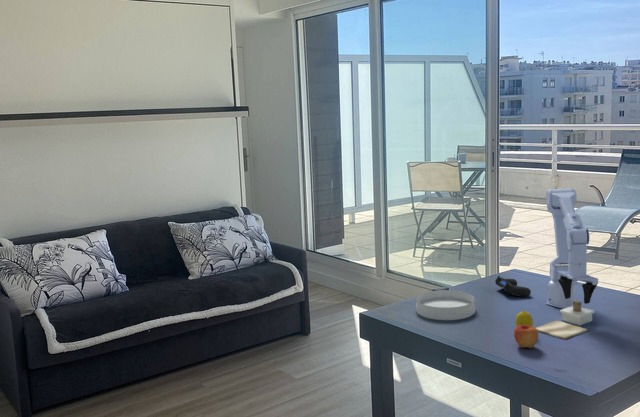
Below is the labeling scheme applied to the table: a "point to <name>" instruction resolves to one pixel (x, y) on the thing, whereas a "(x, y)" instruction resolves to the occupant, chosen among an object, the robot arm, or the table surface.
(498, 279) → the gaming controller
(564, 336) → the birch board
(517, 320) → the lemon
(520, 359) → the table surface
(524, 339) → the apple
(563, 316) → the storage box
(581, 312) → the lid
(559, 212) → the robot arm
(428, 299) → the dish
